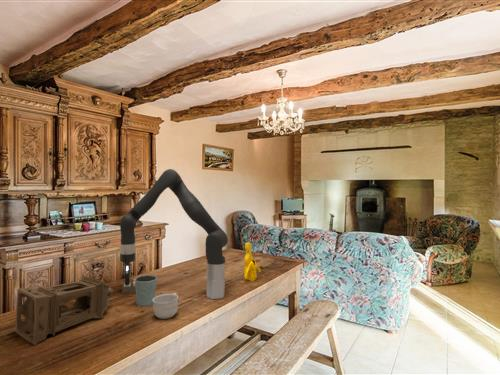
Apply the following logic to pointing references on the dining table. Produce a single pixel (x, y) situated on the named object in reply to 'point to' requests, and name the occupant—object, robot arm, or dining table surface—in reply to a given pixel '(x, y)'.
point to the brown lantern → (59, 307)
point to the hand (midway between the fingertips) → (127, 284)
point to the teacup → (165, 305)
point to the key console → (128, 289)
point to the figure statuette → (250, 264)
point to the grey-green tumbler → (145, 289)
